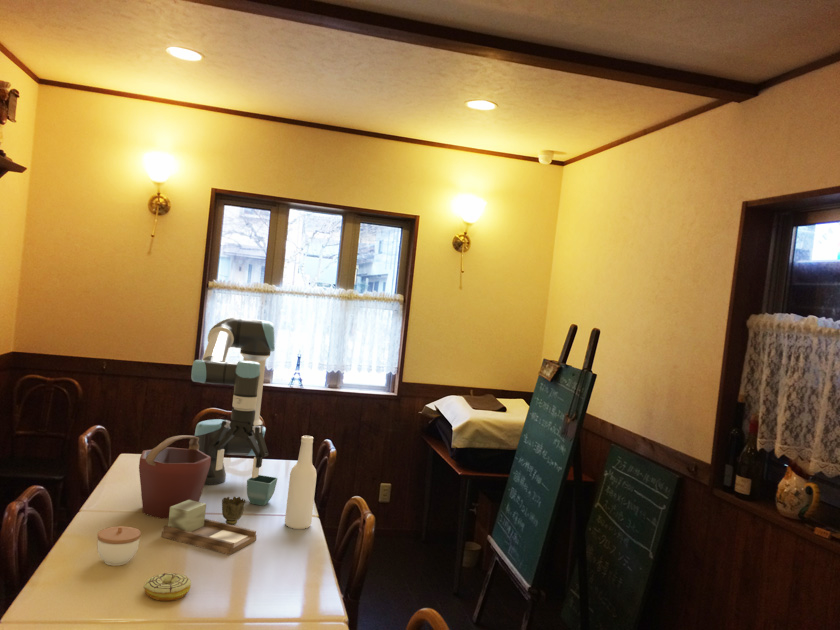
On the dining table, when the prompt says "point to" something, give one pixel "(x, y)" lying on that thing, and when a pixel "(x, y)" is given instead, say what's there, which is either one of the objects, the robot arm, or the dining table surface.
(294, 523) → the alcohol
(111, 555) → the lidded jar
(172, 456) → the bucket
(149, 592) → the decorated donut
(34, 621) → the dining table surface
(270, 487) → the flower pot
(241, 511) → the cup
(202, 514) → the brown wooden tray
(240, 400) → the robot arm
